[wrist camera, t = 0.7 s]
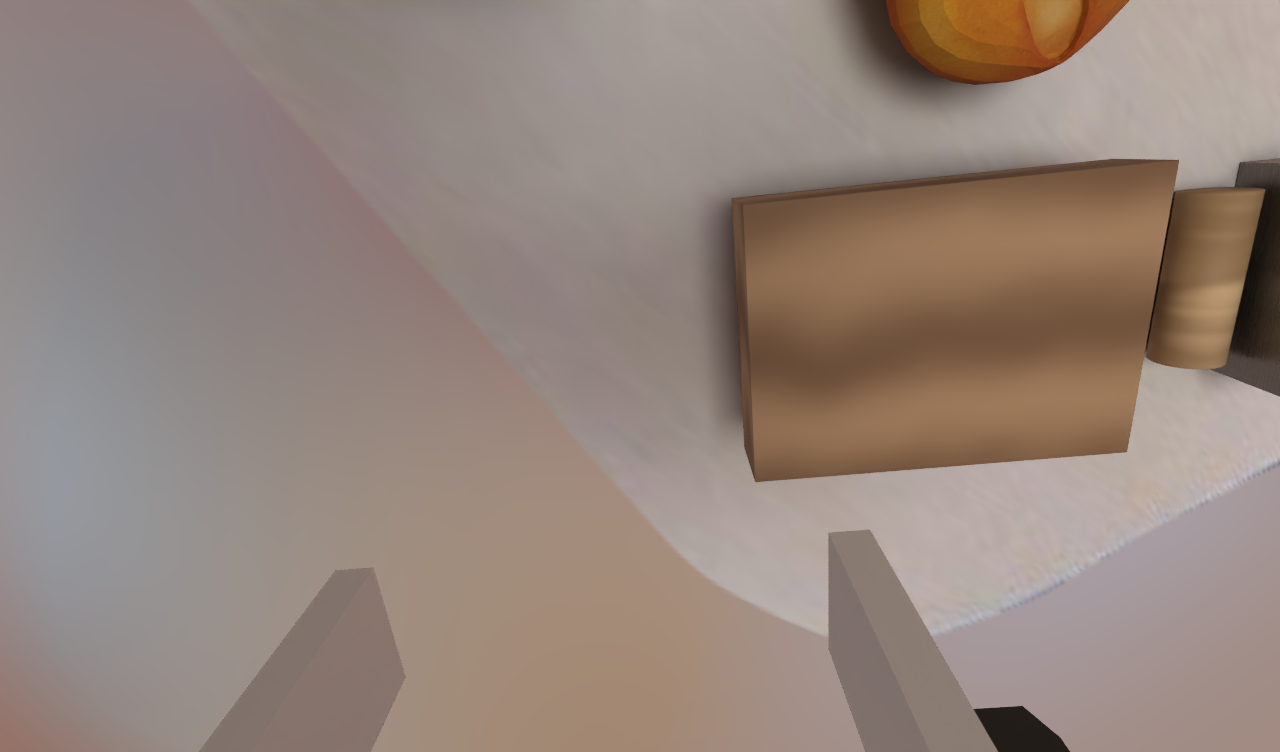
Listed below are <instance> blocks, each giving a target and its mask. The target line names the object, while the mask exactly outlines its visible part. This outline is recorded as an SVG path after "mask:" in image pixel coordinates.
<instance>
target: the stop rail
mask: <svg viewBox="0 0 1280 752" xmlns="http://www.w3.org/2000/svg"><path fill="white" fill-rule="evenodd" d="M1236 187H1251V188H1262V189H1265V193H1264V198H1263V202H1262V207H1261V211H1260V216H1259V220H1258V224H1257V229H1256V233H1255V238H1254V242H1253V246H1252V251H1251V255H1250V260H1249V264H1248V269H1247V273H1246V277H1245V282H1244V286H1243V291H1242V295H1241V300H1240V304H1239V308H1238V313H1237V317H1236V322H1235V326H1234V330H1233V335H1232V339H1231V344H1230V348H1229V353H1228V357H1227V361H1226V364H1225V365H1224V366H1222V367H1219V368H1214V369H1211V370H1213V371H1216V372H1218V373H1221V374H1223V375H1226V376H1229V377H1231V378H1234V379H1236V380H1239V381H1241V382H1244V383H1246V384H1249V385H1252V386H1254V387H1257V388H1259V389H1262V390H1264V391H1267V392H1270V393H1272V394H1275V395H1277V396H1280V159H1270V160H1260V161H1250V162H1241V163H1240V168H1239V172H1238V177H1237V182H1236Z"/></svg>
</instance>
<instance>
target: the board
mask: <svg viewBox="0 0 1280 752" xmlns="http://www.w3.org/2000/svg"><path fill="white" fill-rule="evenodd" d="M1178 163H1179V160H1145V159H1108V160H1098V161H1089V162H1079V163H1069V164H1060V165H1050V166H1040V167H1030V168H1021V169H1011V170H1001V171H992V172H982V173H972V174H963V175H953V176H943V177H934V178H924V179H914V180H905V181H895V182H885V183H876V184H866V185H856V186H847V187H837V188H827V189H818V190H808V191H798V192H789V193H779V194H769V195H760V196H750V197H740V198H732V210H733V230H734V250H735V270H736V290H737V309H738V329H739V349H740V369H741V389H742V409H743V429H744V447H745V451H746V454H747V457H748V460H749V463H750V466H751V470H752V473H753V476H754V479H755V482H762V481H774V480H787V479H799V478H812V477H824V476H836V475H849V474H861V473H874V472H886V471H899V470H911V469H923V468H936V467H948V466H961V465H973V464H986V463H998V462H1010V461H1023V460H1035V459H1048V458H1060V457H1073V456H1085V455H1097V454H1110V453H1122V452H1127V448H1128V443H1129V437H1130V432H1131V426H1132V421H1133V415H1134V409H1135V404H1136V398H1137V393H1138V387H1139V381H1140V376H1141V370H1142V365H1143V359H1144V353H1145V348H1146V342H1147V337H1148V331H1149V325H1150V320H1151V314H1152V309H1153V303H1154V297H1155V292H1156V286H1157V281H1158V275H1159V269H1160V264H1161V258H1162V253H1163V247H1164V242H1165V236H1166V230H1167V225H1168V219H1169V214H1170V208H1171V202H1172V197H1173V191H1174V186H1175V180H1176V174H1177V169H1178Z"/></svg>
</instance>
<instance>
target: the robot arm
mask: <svg viewBox="0 0 1280 752" xmlns="http://www.w3.org/2000/svg"><path fill="white" fill-rule="evenodd" d="M829 651H830V654H831V656H832V659H833V662H834V665H835V668H836V671H837V674H838V676H839V679H840V682H841V685H842V688H843V690H844V693H845V696H846V699H847V702H848V704H849V707H850V710H851V713H852V715H853V719H854V721H855V724H856V727H857V729H858V733H859V735H860V738H861V741H862V744H863V747H864V749H865V752H1070V751H1069V750H1068V748H1067V747H1066V746H1065V744H1064V742H1063V741H1062V740H1061V738H1060V737H1059V736H1058V735H1056V734H1055V733H1054V732H1053V731H1052V730H1050V729H1049V728H1048V727H1047V726H1046V725H1044V724H1043V723H1042V722H1041V721H1040V720H1038V719H1037V718H1036V717H1035V716H1034V715H1032V714H1031V713H1030V712H1029V711H1028V710H1026V709H1025V708H1024V707H1023V706H1017V707H1000V708H984V709H973V708H972V706H971V704H970V703H969V701H968V699H967V697H966V695H965V694H964V692H963V690H962V689H961V687H960V685H959V683H958V682H957V680H956V678H955V676H954V675H953V673H952V672H951V670H950V668H949V666H948V664H947V663H946V661H945V659H944V657H943V656H942V654H941V652H940V650H939V649H938V647H937V645H936V644H935V642H934V640H933V638H932V637H931V635H930V633H929V631H928V630H927V628H926V626H925V624H924V623H923V621H922V619H921V617H920V616H919V614H918V612H917V611H916V609H915V607H914V605H913V604H912V602H911V600H910V598H909V597H908V595H907V593H906V591H905V590H904V588H903V586H902V585H901V583H900V581H899V579H898V578H897V576H896V574H895V572H894V571H893V569H892V567H891V566H890V564H889V562H888V560H887V559H886V557H885V555H884V553H883V552H882V550H881V548H880V546H879V545H878V543H877V541H876V540H875V538H874V536H873V534H872V533H871V531H870V530H860V531H846V532H833V533H829ZM404 679H405V673H404V670H403V667H402V663H401V660H400V656H399V653H398V650H397V646H396V643H395V639H394V636H393V633H392V629H391V626H390V623H389V619H388V615H387V612H386V609H385V605H384V602H383V598H382V595H381V592H380V588H379V585H378V581H377V578H376V575H375V571H374V568H361V569H349V570H335V572H334V573H333V574H332V576H331V577H330V578H329V580H328V581H327V582H326V584H325V585H324V586H323V588H322V589H321V590H320V592H319V593H318V594H317V596H316V597H315V598H314V600H313V601H312V602H311V604H310V605H309V606H308V608H307V609H306V610H305V612H304V613H303V614H302V616H301V617H300V618H299V619H298V621H297V622H296V623H295V625H294V626H293V628H292V629H291V630H290V632H289V633H288V634H287V635H286V637H285V638H284V639H283V641H282V642H281V643H280V645H279V646H278V647H277V649H276V650H275V651H274V653H273V654H272V655H271V657H270V658H269V659H268V661H267V662H266V663H265V665H264V666H263V667H262V669H261V670H260V671H259V673H258V674H257V675H256V677H255V678H254V679H253V681H252V682H251V683H250V685H249V686H248V687H247V689H246V690H245V691H244V693H243V694H242V695H241V697H240V698H239V699H238V700H237V702H236V703H235V704H234V706H233V707H232V708H231V710H230V711H229V712H228V714H227V715H226V717H225V718H224V719H223V720H222V722H221V723H220V724H219V726H218V727H217V728H216V730H215V731H214V732H213V734H212V735H211V736H210V738H209V739H208V740H207V742H206V743H205V744H204V746H203V747H202V748H201V750H200V751H199V752H371V750H372V748H373V746H374V744H375V741H376V739H377V737H378V735H379V733H380V731H381V729H382V726H383V724H384V722H385V720H386V718H387V716H388V713H389V711H390V709H391V707H392V704H393V703H394V701H395V698H396V696H397V694H398V692H399V690H400V688H401V686H402V684H403V681H404Z"/></svg>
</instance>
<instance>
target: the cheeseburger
mask: <svg viewBox="0 0 1280 752" xmlns="http://www.w3.org/2000/svg"><path fill="white" fill-rule="evenodd" d="M1128 1H1129V0H886V3H887V8H888V13H889V19H890V24H891V26H892V28H893V29H894V31H895V33H896V34H897V36H898V38H899V39H900V41H901V42H902V44H903V46H904V47H905V49H906V51H907V52H908V54H910V55H911V56H912V57H913V58H914V59H916V60H917V61H918V62H919V63H921V64H922V65H923V66H924V67H925V68H927V69H928V70H929V71H930V72H932V73H933V74H935V75H938V76H941V77H943V78H946V79H948V80H951V81H955V82H961V83H967V84H974V85H978V84H989V83H999V82H1009V81H1014V80H1018V79H1022V78H1025V77H1029V76H1032V75H1036V74H1039V73H1041V72H1044V71H1047V70H1049V69H1051V68H1053V67H1055V66H1057V65H1059V64H1061V63H1063V62H1064V61H1066V60H1067V59H1068V58H1070V57H1071V56H1072V55H1074V54H1075V53H1076V52H1077V51H1078V50H1080V49H1081V48H1082V47H1083V46H1084V45H1085V44H1086V43H1088V42H1089V41H1090V40H1091V39H1092V38H1093V37H1094V36H1095V35H1097V34H1098V33H1099V32H1100V31H1101V30H1102V29H1103V28H1104V27H1105V26H1106V25H1107V24H1108V23H1109V22H1110V20H1111V19H1112V18H1113V17H1114V16H1115V15H1116V14H1117V13H1118V12H1119V11H1120V10H1121V9H1122V8H1123V7H1124V6H1125V5H1126V4H1127V3H1128Z"/></svg>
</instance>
